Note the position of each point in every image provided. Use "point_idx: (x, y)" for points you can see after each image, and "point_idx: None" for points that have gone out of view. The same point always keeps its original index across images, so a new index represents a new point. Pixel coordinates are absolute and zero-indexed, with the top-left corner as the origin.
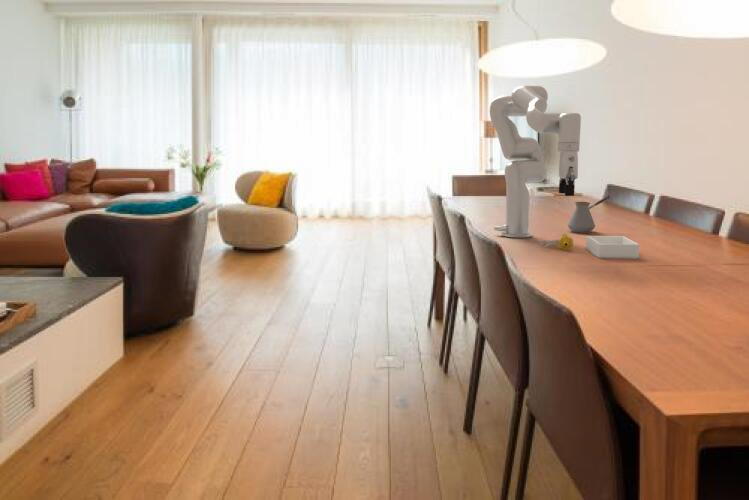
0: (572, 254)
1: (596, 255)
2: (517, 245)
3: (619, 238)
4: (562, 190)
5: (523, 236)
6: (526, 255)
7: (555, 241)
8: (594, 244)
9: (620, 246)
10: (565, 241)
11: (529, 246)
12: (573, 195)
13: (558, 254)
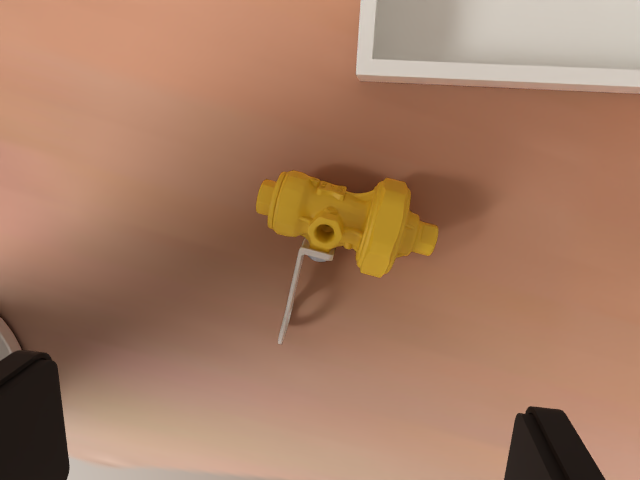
0: (529, 219)
1: (636, 93)
2: (246, 428)
3: None
4: (33, 469)
5: (16, 348)
6: None
7: (299, 266)
8: (599, 87)
9: None
10: (415, 244)
11: (273, 380)
12: (554, 414)
13: (519, 297)
